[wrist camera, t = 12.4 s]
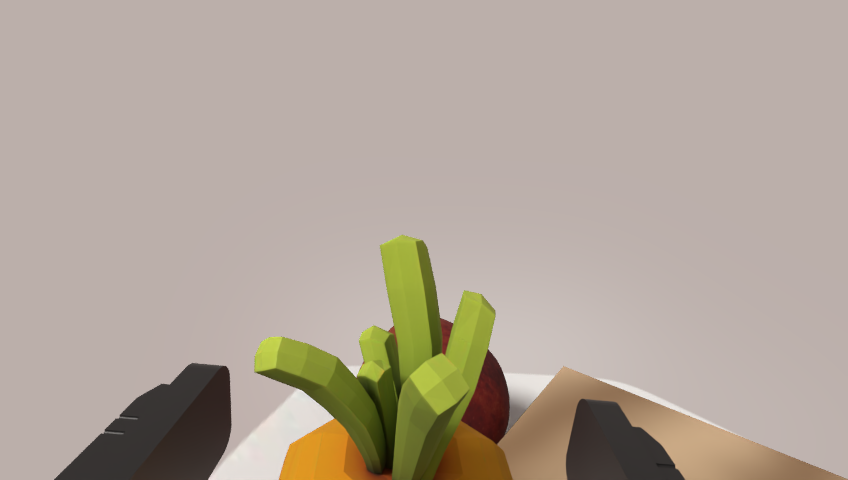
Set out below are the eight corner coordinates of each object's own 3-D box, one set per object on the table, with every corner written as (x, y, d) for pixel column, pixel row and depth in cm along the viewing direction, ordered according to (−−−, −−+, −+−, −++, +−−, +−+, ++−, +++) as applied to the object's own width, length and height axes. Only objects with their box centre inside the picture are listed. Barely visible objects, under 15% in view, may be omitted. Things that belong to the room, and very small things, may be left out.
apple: (362, 408, 27) (369, 285, 25) (490, 420, 27) (509, 299, 25) (335, 514, 20) (342, 356, 18) (508, 531, 20) (538, 375, 18)
